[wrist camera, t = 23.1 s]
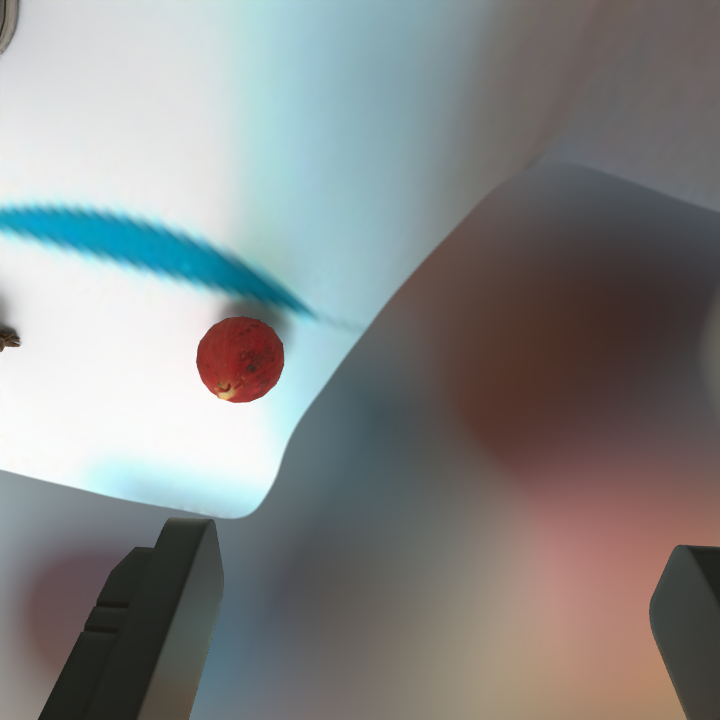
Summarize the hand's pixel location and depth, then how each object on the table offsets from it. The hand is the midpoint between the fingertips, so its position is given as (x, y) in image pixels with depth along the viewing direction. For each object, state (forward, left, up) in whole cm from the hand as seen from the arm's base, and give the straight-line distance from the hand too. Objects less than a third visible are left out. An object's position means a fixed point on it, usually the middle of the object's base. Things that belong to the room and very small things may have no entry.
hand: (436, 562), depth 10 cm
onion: (-7, -15, -30) cm, 35 cm away
